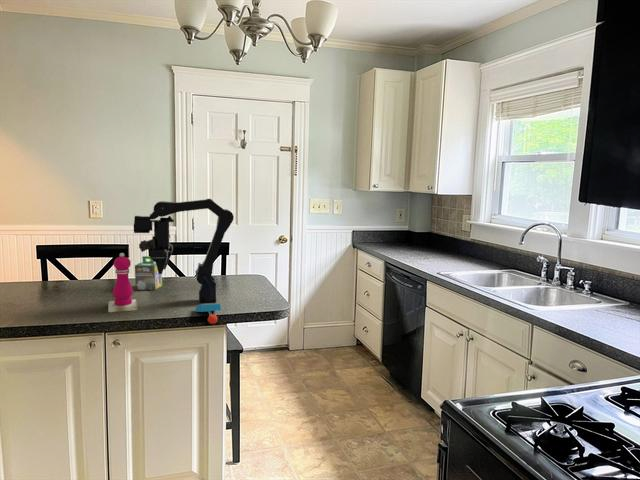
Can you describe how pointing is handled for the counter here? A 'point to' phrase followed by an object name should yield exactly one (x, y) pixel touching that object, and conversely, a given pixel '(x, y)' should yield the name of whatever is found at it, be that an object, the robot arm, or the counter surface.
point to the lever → (209, 311)
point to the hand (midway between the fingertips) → (162, 271)
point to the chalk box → (147, 275)
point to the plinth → (122, 307)
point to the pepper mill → (122, 281)
